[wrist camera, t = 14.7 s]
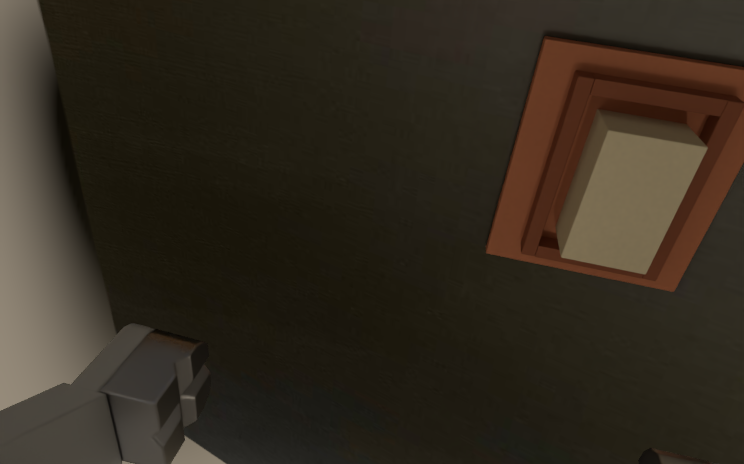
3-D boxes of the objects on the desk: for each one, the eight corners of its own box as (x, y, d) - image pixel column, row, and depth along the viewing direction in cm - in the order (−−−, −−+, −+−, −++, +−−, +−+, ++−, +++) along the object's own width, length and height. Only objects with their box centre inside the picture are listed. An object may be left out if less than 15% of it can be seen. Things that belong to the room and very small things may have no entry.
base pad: (544, 35, 33) (547, 43, 30) (782, 72, 31) (802, 84, 29) (485, 246, 41) (485, 264, 39) (670, 284, 40) (680, 305, 37)
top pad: (597, 108, 33) (608, 129, 30) (687, 123, 33) (708, 147, 29) (554, 227, 38) (560, 257, 35) (632, 243, 37) (646, 275, 34)
